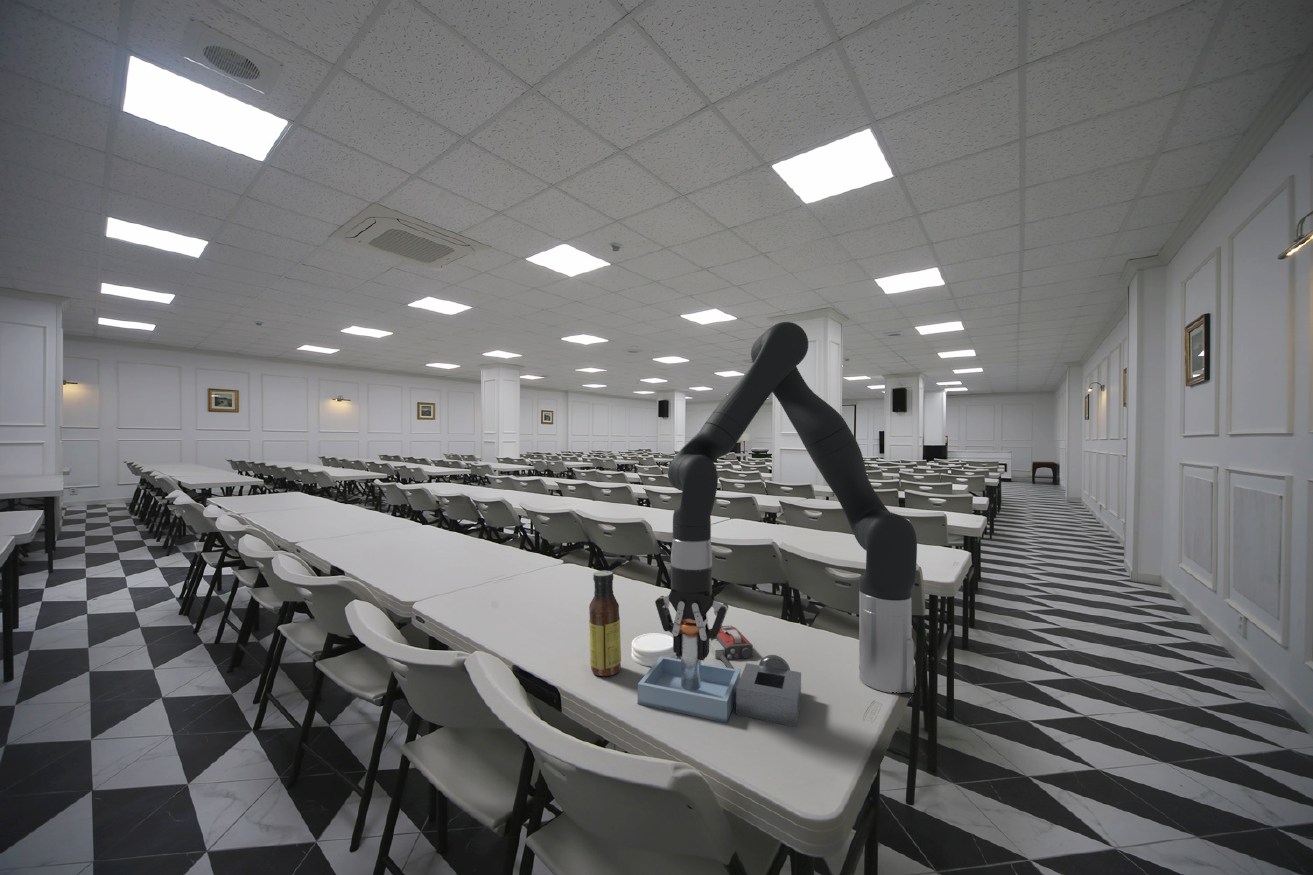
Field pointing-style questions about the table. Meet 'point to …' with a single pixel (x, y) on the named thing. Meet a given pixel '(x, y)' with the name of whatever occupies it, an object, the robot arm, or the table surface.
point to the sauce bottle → (604, 627)
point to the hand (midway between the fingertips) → (690, 656)
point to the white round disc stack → (652, 648)
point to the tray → (705, 702)
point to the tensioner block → (769, 692)
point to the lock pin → (690, 655)
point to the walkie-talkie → (730, 645)
